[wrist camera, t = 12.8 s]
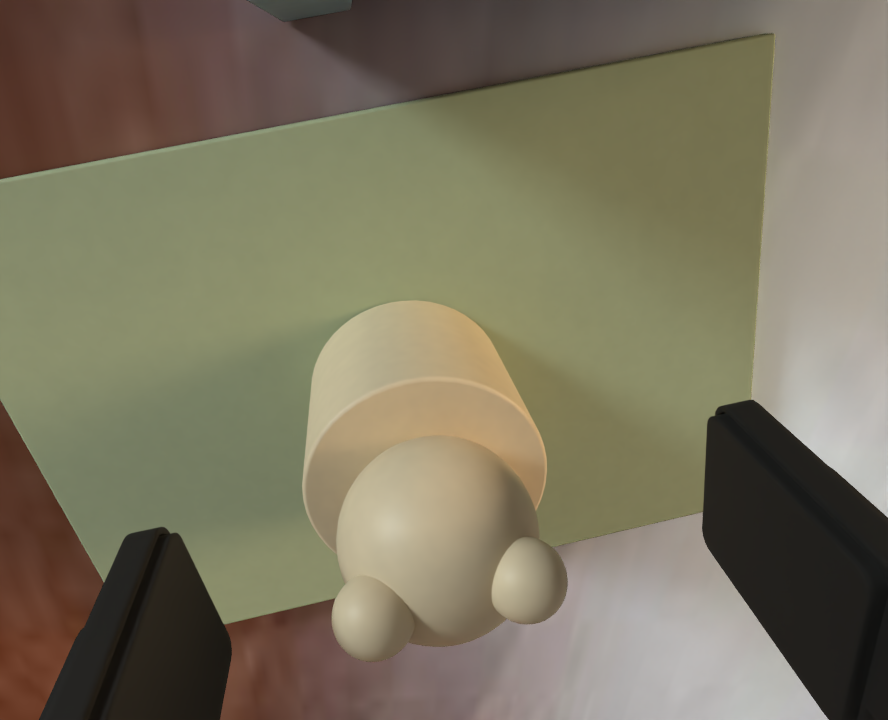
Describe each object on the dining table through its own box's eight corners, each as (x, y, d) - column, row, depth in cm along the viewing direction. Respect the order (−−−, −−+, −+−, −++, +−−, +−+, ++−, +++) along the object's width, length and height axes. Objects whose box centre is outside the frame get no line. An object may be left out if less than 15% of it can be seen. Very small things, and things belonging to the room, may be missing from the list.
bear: (488, 280, 16) (607, 462, 9) (514, 462, 19) (622, 716, 12) (288, 322, 16) (242, 546, 9) (342, 501, 18) (343, 788, 11)
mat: (763, 33, 15) (776, 32, 14) (736, 493, 21) (744, 503, 21) (-99, 197, 14) (-113, 202, 13) (143, 632, 20) (138, 645, 20)
